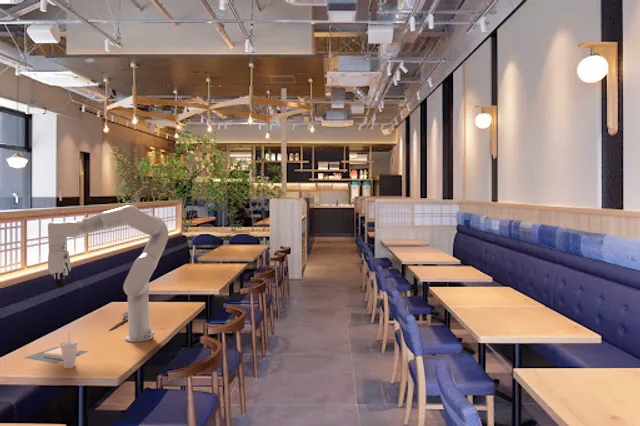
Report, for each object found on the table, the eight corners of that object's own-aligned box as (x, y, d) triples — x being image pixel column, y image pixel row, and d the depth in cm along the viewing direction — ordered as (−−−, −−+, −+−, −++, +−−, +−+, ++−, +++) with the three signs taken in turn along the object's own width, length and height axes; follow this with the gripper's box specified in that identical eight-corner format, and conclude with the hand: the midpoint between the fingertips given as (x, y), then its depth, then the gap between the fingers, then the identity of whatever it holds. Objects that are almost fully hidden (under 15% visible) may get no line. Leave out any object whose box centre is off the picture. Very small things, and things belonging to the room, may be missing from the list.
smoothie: (81, 363, 199) (80, 330, 199) (74, 369, 193) (72, 334, 192) (65, 364, 199) (64, 330, 199) (57, 369, 193) (56, 335, 192)
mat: (88, 352, 214) (88, 351, 214) (56, 364, 199) (56, 363, 199) (57, 347, 222) (57, 346, 222) (23, 358, 207) (23, 357, 207)
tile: (60, 351, 215) (79, 354, 211) (43, 356, 208) (63, 359, 203) (60, 347, 215) (79, 349, 211) (43, 352, 208) (62, 355, 203)
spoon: (145, 314, 281) (145, 309, 281) (120, 333, 248) (119, 327, 248) (127, 316, 281) (126, 311, 281) (99, 335, 248) (98, 329, 248)
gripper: (76, 247, 225) (78, 286, 226) (54, 247, 231) (55, 285, 232) (62, 249, 218) (63, 289, 219) (39, 248, 224) (41, 287, 225)
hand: (59, 287), depth 225 cm, fingers closed
